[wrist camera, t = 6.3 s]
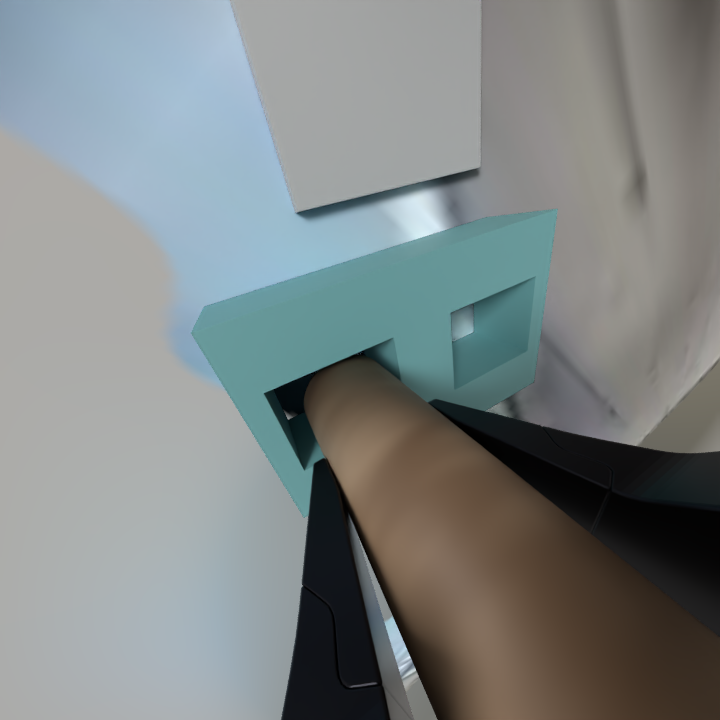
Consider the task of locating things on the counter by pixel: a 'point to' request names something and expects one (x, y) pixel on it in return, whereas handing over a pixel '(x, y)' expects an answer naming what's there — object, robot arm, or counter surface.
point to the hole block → (387, 328)
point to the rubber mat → (366, 91)
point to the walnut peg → (499, 572)
